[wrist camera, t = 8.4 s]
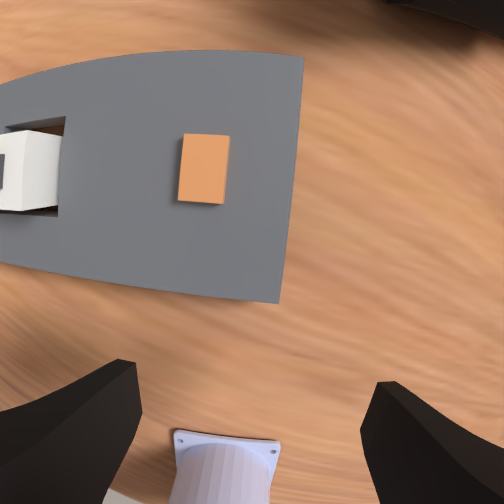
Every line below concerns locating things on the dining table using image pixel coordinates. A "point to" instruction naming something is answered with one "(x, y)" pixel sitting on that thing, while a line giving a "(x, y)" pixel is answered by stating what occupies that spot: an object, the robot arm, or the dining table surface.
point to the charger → (29, 170)
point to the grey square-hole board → (163, 170)
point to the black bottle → (464, 12)
